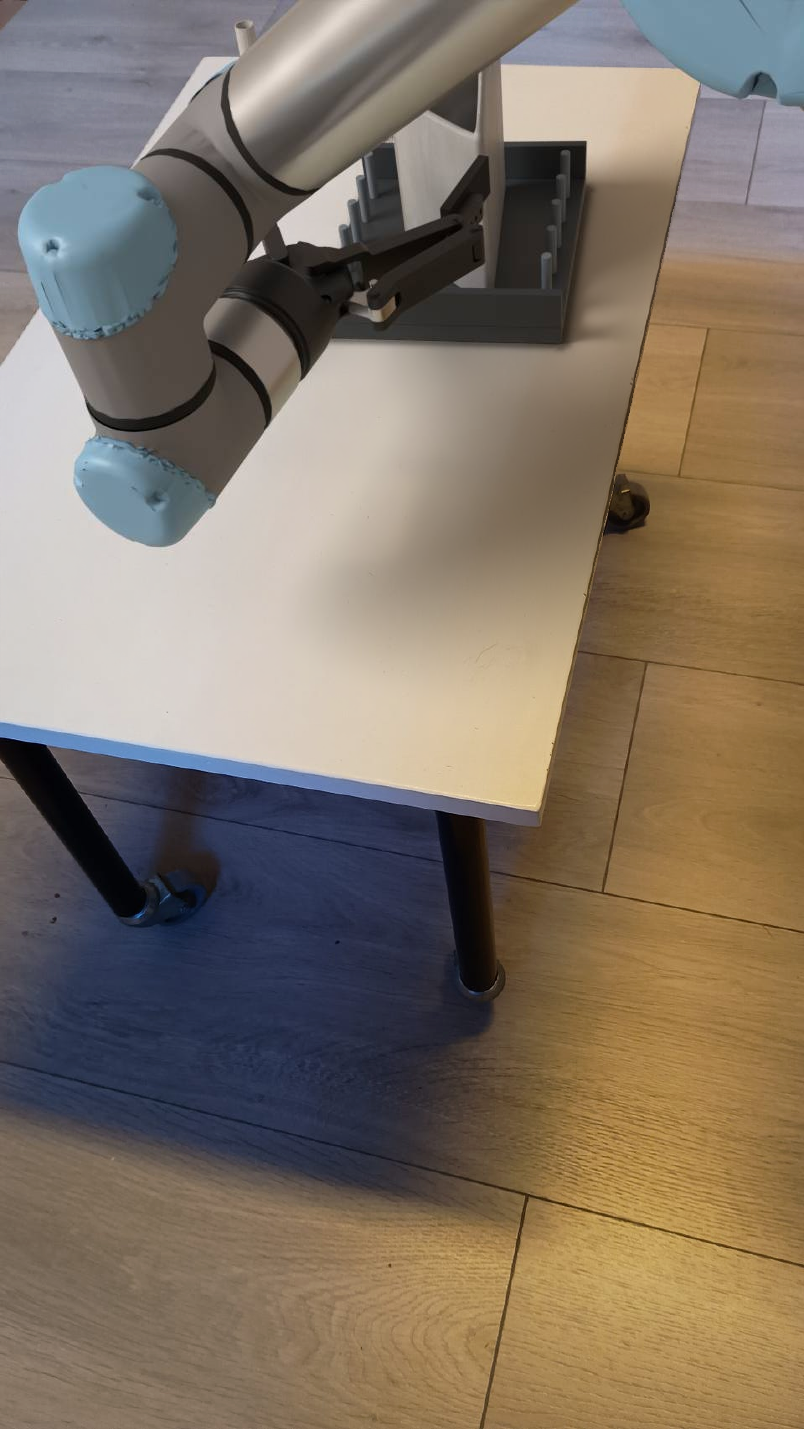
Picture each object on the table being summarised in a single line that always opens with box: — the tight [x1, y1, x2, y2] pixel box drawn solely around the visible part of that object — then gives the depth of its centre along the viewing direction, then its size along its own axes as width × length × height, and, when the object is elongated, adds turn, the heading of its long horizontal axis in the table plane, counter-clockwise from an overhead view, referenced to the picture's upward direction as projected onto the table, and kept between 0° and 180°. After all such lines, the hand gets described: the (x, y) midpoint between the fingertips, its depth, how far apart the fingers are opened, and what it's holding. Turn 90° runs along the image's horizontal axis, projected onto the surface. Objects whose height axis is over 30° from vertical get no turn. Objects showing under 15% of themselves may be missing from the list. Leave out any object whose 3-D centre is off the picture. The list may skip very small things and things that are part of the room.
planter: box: [392, 58, 506, 288], centre depth 86 cm, size 16×8×19 cm, turn 173°
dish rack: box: [331, 140, 588, 345], centre depth 93 cm, size 20×21×6 cm
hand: (398, 159), depth 80 cm, fingers open, 13 cm apart
